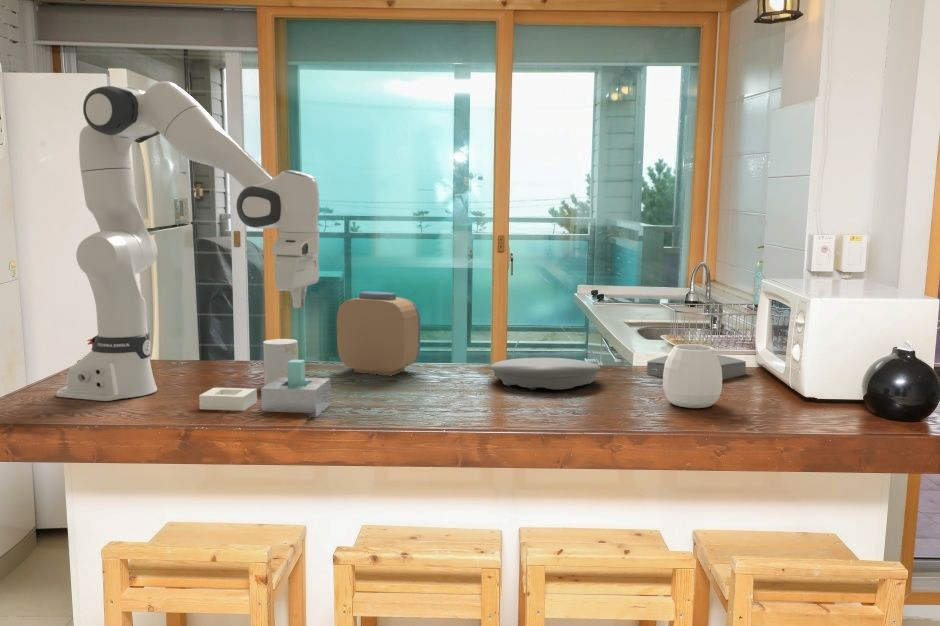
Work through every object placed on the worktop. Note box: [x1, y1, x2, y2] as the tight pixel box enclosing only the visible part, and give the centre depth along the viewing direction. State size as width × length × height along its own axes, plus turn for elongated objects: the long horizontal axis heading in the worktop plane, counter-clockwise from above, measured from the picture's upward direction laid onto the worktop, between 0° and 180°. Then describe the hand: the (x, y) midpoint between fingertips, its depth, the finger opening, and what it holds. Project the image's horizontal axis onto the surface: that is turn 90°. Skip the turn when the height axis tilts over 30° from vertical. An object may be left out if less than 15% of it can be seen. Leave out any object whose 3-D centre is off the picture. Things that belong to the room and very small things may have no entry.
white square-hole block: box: [198, 387, 258, 412], centre depth 191 cm, size 10×8×4 cm
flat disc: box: [490, 357, 601, 391], centre depth 221 cm, size 28×28×4 cm
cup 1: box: [263, 338, 299, 386], centre depth 211 cm, size 8×8×12 cm
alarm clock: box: [336, 291, 421, 377], centre depth 232 cm, size 21×10×22 cm, turn 66°
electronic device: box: [646, 354, 747, 381], centre depth 233 cm, size 19×22×5 cm
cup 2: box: [662, 343, 723, 409], centre depth 197 cm, size 13×13×14 cm
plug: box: [288, 359, 306, 386], centre depth 191 cm, size 3×3×10 cm
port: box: [260, 377, 332, 418], centre depth 191 cm, size 12×12×6 cm
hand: (298, 307), depth 192 cm, fingers closed
